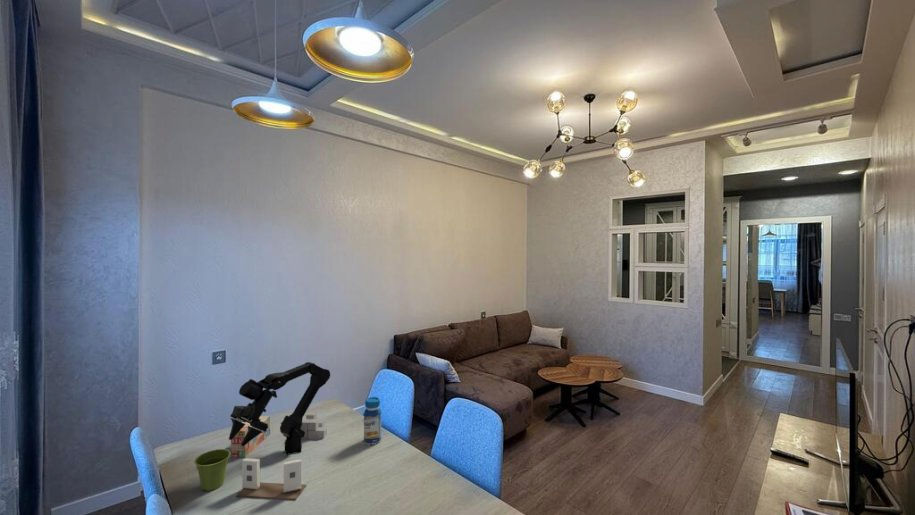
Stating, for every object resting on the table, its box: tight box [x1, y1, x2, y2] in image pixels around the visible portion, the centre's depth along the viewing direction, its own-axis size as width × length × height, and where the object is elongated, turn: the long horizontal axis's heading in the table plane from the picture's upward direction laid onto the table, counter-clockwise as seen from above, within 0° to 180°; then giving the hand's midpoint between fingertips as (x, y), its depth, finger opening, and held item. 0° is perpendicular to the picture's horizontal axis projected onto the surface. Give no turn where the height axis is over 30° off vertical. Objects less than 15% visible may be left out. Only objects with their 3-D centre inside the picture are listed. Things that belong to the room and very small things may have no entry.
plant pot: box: [193, 448, 232, 492], centre depth 146 cm, size 12×12×11 cm
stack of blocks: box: [230, 415, 271, 458], centre depth 176 cm, size 21×6×12 cm, turn 179°
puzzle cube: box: [301, 411, 328, 439], centre depth 189 cm, size 12×12×8 cm
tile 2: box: [241, 457, 261, 489], centre depth 143 cm, size 2×6×11 cm, turn 83°
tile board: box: [235, 482, 307, 501], centre depth 143 cm, size 8×23×1 cm, turn 86°
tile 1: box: [283, 458, 302, 493], centre depth 142 cm, size 2×6×11 cm, turn 113°
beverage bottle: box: [363, 396, 383, 445], centre depth 181 cm, size 8×8×20 cm
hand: (235, 442), depth 150 cm, fingers open, 9 cm apart
